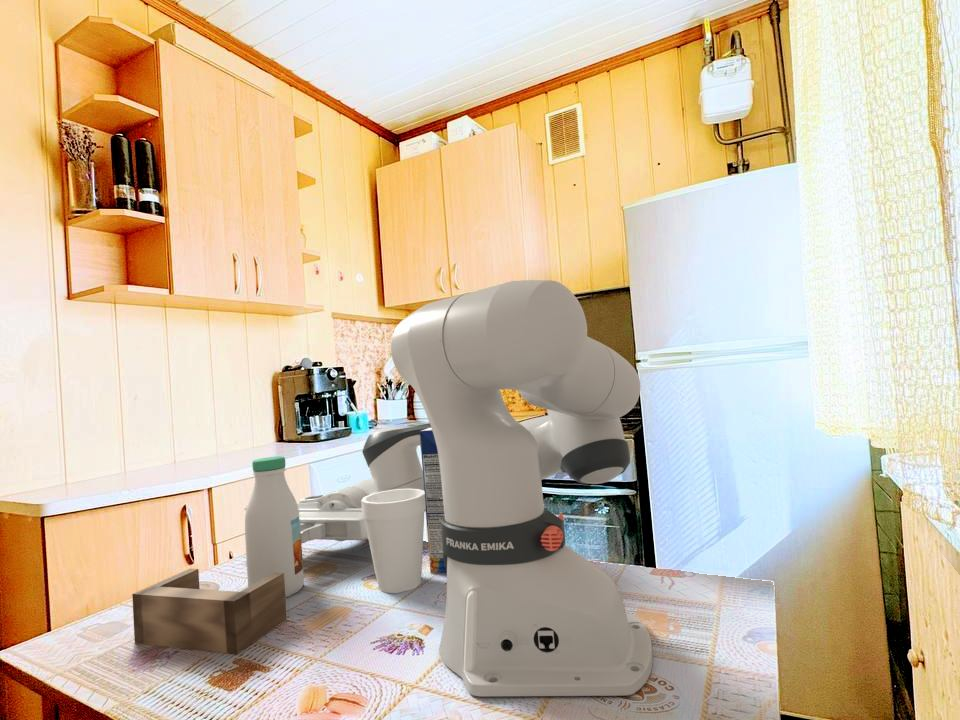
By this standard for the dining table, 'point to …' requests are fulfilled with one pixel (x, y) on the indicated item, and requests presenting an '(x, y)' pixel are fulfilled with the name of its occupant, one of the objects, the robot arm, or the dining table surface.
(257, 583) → the walnut dock
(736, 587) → the dining table surface
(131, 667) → the dining table surface
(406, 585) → the foam cup
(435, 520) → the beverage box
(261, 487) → the milk bottle
